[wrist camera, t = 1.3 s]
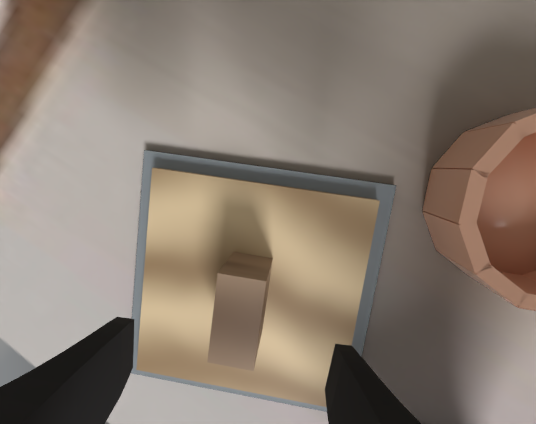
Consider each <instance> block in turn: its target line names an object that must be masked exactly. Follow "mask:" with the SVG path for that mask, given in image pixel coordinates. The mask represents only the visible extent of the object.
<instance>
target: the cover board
mask: <svg viewBox="0 0 536 424" xmlns="http://www.w3.org/2000/svg"><path fill="white" fill-rule="evenodd" d="M379 203H380V201H379V200H377V199H370V198H363V197H356V196H349V195H342V194H335V193H329V192H322V191H315V190H308V189H301V188H294V187H287V186H280V185H273V184H267V183H260V182H253V181H246V180H239V179H232V178H225V177H218V176H211V175H204V174H198V173H191V172H184V171H177V170H170V169H163V168H152V176H151V188H150V201H149V214H148V227H147V240H146V253H145V265H144V278H143V291H142V304H141V317H140V330H139V342H138V355H137V368H136V370H140V371H145V372H150V373H155V374H160V375H165V376H170V377H175V378H180V379H186V380H191V381H196V382H201V383H206V384H211V385H216V386H221V387H226V388H231V389H237V390H242V391H247V392H252V393H257V394H262V395H267V396H272V397H277V398H282V399H287V400H293V401H298V402H303V403H308V404H313V405H318V406H323V407H326V397H325V386H326V382H327V377H328V373H329V369H330V364H331V360H332V356H333V351H334V347H335V344H342V345H352V340H353V335H354V330H355V325H356V320H357V315H358V310H359V305H360V300H361V294H362V289H363V284H364V279H365V274H366V269H367V264H368V259H369V254H370V249H371V243H372V238H373V233H374V228H375V223H376V218H377V213H378V208H379Z"/></svg>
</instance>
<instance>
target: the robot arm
mask: <svg viewBox="0 0 536 424" xmlns="http://www.w3.org/2000/svg"><path fill="white" fill-rule="evenodd" d="M133 352H134V319H129V318H121V317H116V318H115V319H113V320H112V321H110V322H108V323H107V324H105V325H104V326H102V327H101V328H99V329H98V330H96V331H95V332H93V333H92V334H90V335H89V336H87V337H86V338H84V339H82V340H81V341H79V342H78V343H76V344H75V345H73V346H72V347H70V348H68V349H67V350H65V351H64V352H62V353H60V354H59V355H57V356H55V357H54V358H52V359H50V360H48V361H47V362H45V363H43V364H42V365H40V366H38V367H37V368H35V369H33V370H31V371H30V372H28V373H26V374H24V375H22V376H21V377H19V378H17V379H15V380H13V381H11V382H9V383H7V384H5V385H3V386H1V387H0V424H105V422H106V420H107V419H108V417H109V415H110V413H111V412H112V410H113V408H114V406H115V405H116V403H117V401H118V399H119V398H120V396H121V394H122V391H123V389H124V387H125V385H126V382H127V380H128V378H129V375H130V373H131V371H132V368H133ZM325 397H326V407H327V414H328V421H329V424H421V423H420V422H419V421H418V420H417V419H416V418H415V417H414V416H413V415H412V414H411V413H410V412H409V411H408V410H407V409H406V408H405V407H404V406H403V405H402V404H401V402H400V401H399V400H398V399H397V398H396V397H395V396H394V395H393V394H392V393H391V391H390V390H389V389H388V388H387V387H386V386H385V385H384V383H383V382H382V381H381V380H380V379H379V378H378V376H377V375H376V374H375V373H374V372H373V370H372V369H371V368H370V367H369V366H368V364H367V363H366V362H365V361H364V359H363V358H362V357H361V356H360V355H359V353H358V352H357V351H356V350H355V349H354V347H353V346H351V345H342V344H335V347H334V351H333V356H332V360H331V364H330V369H329V373H328V377H327V382H326V386H325Z"/></svg>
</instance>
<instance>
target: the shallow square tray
mask: <svg viewBox="0 0 536 424" xmlns="http://www.w3.org/2000/svg"><path fill="white" fill-rule="evenodd" d="M152 168H163V169H170V170H177V171H184V172H191V173H198V174H204V175H211V176H218V177H225V178H232V179H239V180H246V181H253V182H260V183H267V184H273V185H280V186H287V187H294V188H301V189H308V190H315V191H322V192H329V193H335V194H342V195H349V196H356V197H363V198H370V199H377V200H379V201H380V203H379V208H378V213H377V218H376V223H375V228H374V233H373V238H372V243H371V249H370V254H369V259H368V264H367V269H366V274H365V279H364V284H363V289H362V294H361V300H360V305H359V310H358V315H357V320H356V325H355V330H354V335H353V340H352V345H351V346H353V347H354V349H355V350H356V351H357V352H358V353H359V355H360V356H361V357H362V352H363V347H364V343H365V338H366V333H367V328H368V323H369V318H370V313H371V308H372V303H373V298H374V293H375V288H376V283H377V279H378V274H379V269H380V264H381V259H382V254H383V249H384V244H385V239H386V234H387V229H388V224H389V219H390V215H391V210H392V205H393V200H394V195H395V190H396V185H389V184H382V183H375V182H368V181H361V180H354V179H347V178H340V177H333V176H326V175H318V174H311V173H304V172H297V171H290V170H283V169H276V168H269V167H262V166H255V165H248V164H240V163H233V162H226V161H219V160H212V159H205V158H198V157H191V156H184V155H177V154H170V153H162V152H155V151H148V150H144V159H143V173H142V187H141V200H140V214H139V228H138V241H137V255H136V268H135V282H134V296H133V309H132V319H134V352H133V368H132V371H131V373H133V374H138V375H143V376H148V377H153V378H158V379H163V380H168V381H173V382H178V383H183V384H188V385H193V386H198V387H204V388H209V389H214V390H219V391H224V392H229V393H234V394H239V395H244V396H249V397H254V398H259V399H264V400H269V401H274V402H280V403H285V404H290V405H295V406H300V407H305V408H310V409H315V410H320V411H325V412H327V407H323V406H318V405H313V404H308V403H303V402H298V401H293V400H287V399H282V398H277V397H272V396H267V395H262V394H257V393H252V392H247V391H242V390H237V389H231V388H226V387H221V386H216V385H211V384H206V383H201V382H196V381H191V380H186V379H180V378H175V377H170V376H165V375H160V374H155V373H150V372H145V371H140V370H136V368H137V355H138V342H139V330H140V317H141V304H142V291H143V278H144V265H145V253H146V240H147V227H148V214H149V201H150V188H151V176H152Z"/></svg>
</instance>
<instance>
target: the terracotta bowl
mask: <svg viewBox="0 0 536 424" xmlns="http://www.w3.org/2000/svg"><path fill="white" fill-rule="evenodd" d="M432 168H433V169H431V173H430V177H429V182H428V187H427V191H426V196H425V200H424V205H423V209H422V210H423V215H424V218H425V221H426V223H427V226H428V229H429V232H430V235H431V237H432V240H433V243H434V246H435V249H436V250H437V251H438V252H439V253H440V254H442V255H443V256H444V257H445V258H447V259H448V260H449V261H450V262H452V263H453V264H454V265H455V266H457V267H458V268H459V269H460V270H462V271H463V272H464V273H466V274H467V275H468V276H470V277H471V278H473V279H474V280H476V281H477V282H479V283H480V284H482V285H483V286H485V287H486V288H488V289H490V290H491V291H493V292H494V293H496V294H497V295H499V296H500V297H502V298H503V299H505V300H506V301H508V302H510V303H511V304H513V305H514V306H516V307H518V308H522V309H528V310H534V311H536V108H533V109H529V110H525V111H521V112H517V113H512V114H509V115H506V116H503V117H501V118H498V119H496V120H493V121H491V122H488V123H486V124H483V125H480V126H478V127H475V128H473V129H470V130H468V131H465V132H464V133H462V134H461V135H460V136H459V138H458V139H457V140H456V141H455V142H454V143H453V144H452V145H451V147H450V148H449V149H448V150H447V151H446V152H445V153H444V155H443V156H442V157H441V158H440V159H439V160H438V161H437V162H436V164H435V165H434V166H433V167H432Z"/></svg>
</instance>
